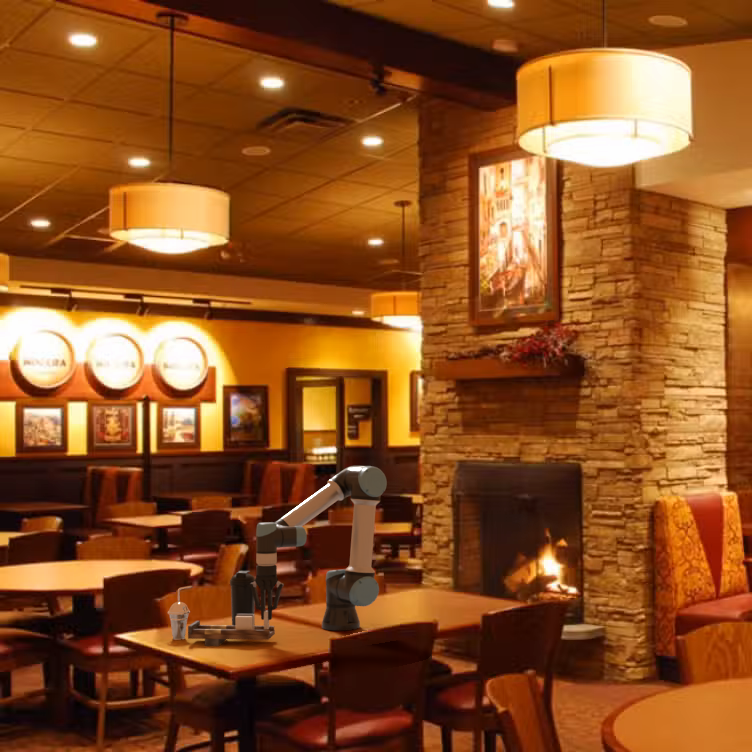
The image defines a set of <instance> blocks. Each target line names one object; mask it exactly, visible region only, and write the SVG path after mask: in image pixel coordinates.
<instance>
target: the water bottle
mask: <svg viewBox="0 0 752 752" xmlns="http://www.w3.org/2000/svg"><path fill="white" fill-rule="evenodd" d="M250 572H251V571H250V570H238V572H236V573H235V574H234V575H232V577H231V578H230V579H229V580H230V581H229V585H230V598H231V599H230V600H231V601H230V602H231V625H235V617H236V616H237V614H253V615H255V601H254V597H253V593H252V589H251V588H250V586H249V584H250V583H253V582H254V581H255V579H256V577H255V576H254V575H252V574H250Z"/></svg>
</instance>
